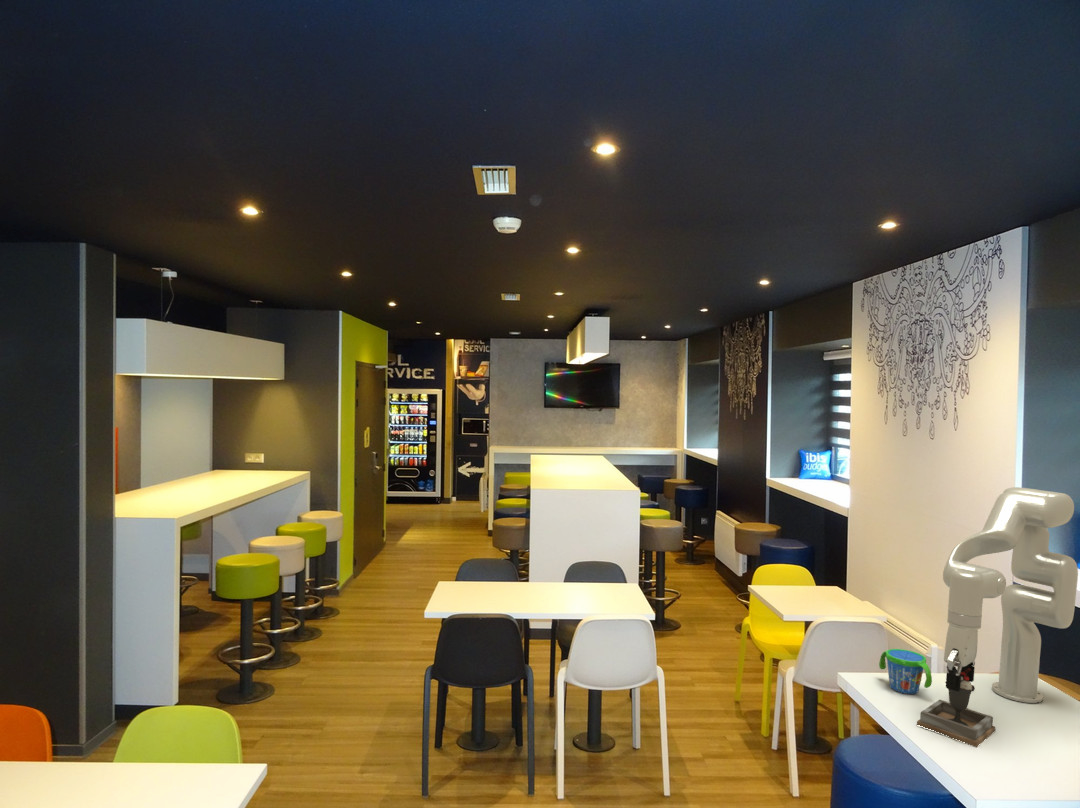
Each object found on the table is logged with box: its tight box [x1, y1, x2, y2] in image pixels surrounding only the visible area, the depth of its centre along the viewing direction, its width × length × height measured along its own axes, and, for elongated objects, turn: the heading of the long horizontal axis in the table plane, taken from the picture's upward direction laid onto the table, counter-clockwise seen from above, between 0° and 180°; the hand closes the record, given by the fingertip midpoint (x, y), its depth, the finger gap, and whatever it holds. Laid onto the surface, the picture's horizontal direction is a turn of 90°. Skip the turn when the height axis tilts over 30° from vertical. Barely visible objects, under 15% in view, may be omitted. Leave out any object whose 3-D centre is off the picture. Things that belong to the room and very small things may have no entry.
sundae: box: [944, 668, 975, 726], centre depth 195 cm, size 7×7×15 cm
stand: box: [916, 699, 997, 748], centre depth 195 cm, size 14×14×4 cm
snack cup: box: [878, 648, 933, 695], centre depth 219 cm, size 16×10×10 cm
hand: (959, 684), depth 195 cm, fingers open, 9 cm apart
